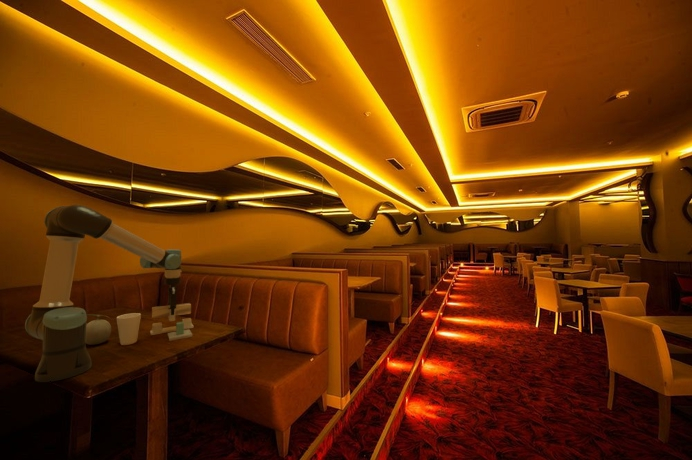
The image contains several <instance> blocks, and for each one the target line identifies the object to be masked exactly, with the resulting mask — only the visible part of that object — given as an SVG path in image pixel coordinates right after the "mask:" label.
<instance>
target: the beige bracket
mask: <svg viewBox="0 0 692 460" xmlns="http://www.w3.org/2000/svg"><path fill="white" fill-rule="evenodd" d="M181 320H182V321H181V322H183V323H184V330H188V329H189V330H190V329H194V328H195V327H194V324H193V323H192V318H191V317H187V318H182V319H181ZM162 323H163V322H156V323H152V329H150V331H149V333H150V336H154V335H159V334H160V335H161V334H167V333H171V332H176V326H175V325H174V326H169V327H163V324H162Z"/></svg>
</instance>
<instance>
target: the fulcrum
mask: <svg viewBox="0 0 692 460" xmlns="http://www.w3.org/2000/svg"><path fill="white" fill-rule="evenodd" d="M175 325H176V331H172V332H167V337H168V341H169V342H171V341H177V340H182V339H187V338H192V337H193V333H192V331H191V330H190V328H189V329H184V323H183V322H182V321H178V322H175Z"/></svg>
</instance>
